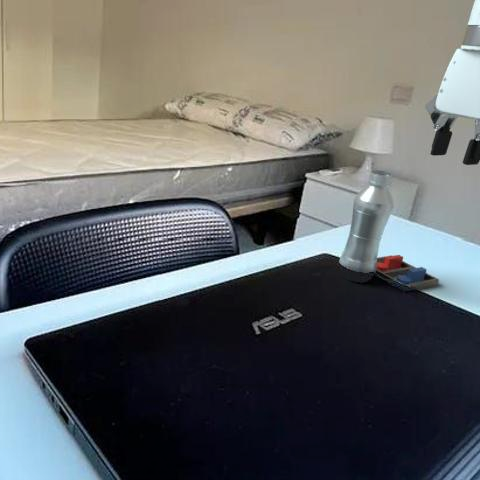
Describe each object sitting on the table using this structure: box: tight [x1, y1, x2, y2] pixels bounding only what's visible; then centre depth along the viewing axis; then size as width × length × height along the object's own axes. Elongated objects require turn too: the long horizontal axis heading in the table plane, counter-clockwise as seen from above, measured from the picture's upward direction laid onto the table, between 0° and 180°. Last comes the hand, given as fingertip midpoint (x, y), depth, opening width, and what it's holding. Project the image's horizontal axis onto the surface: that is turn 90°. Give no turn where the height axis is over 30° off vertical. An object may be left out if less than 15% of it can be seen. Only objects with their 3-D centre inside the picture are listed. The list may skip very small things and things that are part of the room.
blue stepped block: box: [395, 266, 428, 285], centre depth 90 cm, size 6×2×2 cm, turn 116°
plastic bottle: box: [338, 169, 395, 273], centre depth 87 cm, size 6×7×20 cm
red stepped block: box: [376, 254, 404, 272], centre depth 94 cm, size 6×2×2 cm, turn 116°
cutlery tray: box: [375, 255, 440, 291], centre depth 92 cm, size 9×11×2 cm
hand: (453, 158), depth 82 cm, fingers open, 5 cm apart
